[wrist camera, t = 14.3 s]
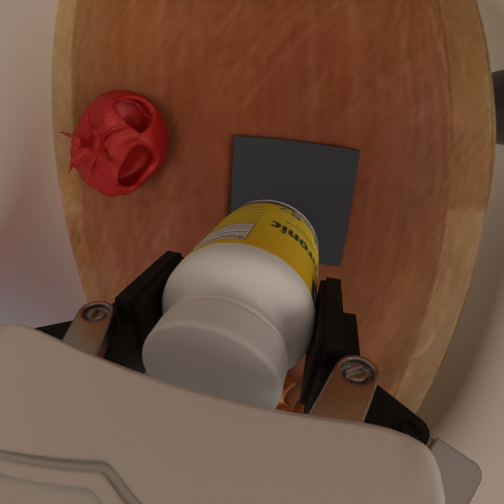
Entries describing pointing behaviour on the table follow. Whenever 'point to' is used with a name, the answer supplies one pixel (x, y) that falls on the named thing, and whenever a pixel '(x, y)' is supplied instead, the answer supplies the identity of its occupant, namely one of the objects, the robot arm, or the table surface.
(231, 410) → the robot arm
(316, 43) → the table surface
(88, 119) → the pomegranate
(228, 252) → the supplement bottle
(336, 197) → the rubber mat
